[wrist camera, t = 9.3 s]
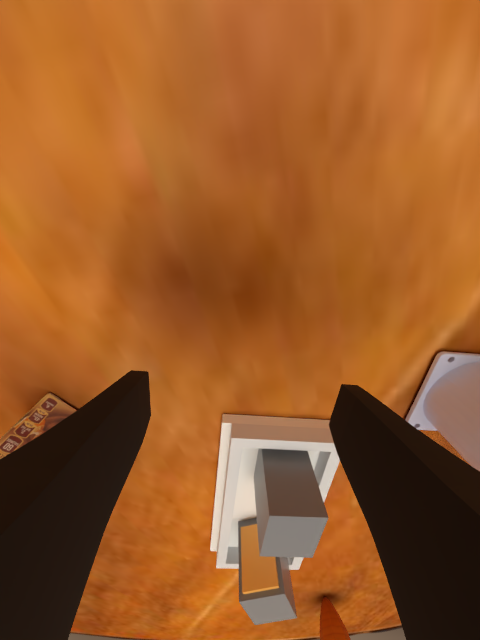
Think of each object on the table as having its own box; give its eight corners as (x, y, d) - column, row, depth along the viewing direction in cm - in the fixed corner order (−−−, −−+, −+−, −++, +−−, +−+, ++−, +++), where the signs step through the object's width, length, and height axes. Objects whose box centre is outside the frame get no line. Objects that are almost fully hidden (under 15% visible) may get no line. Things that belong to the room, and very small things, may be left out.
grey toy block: (304, 441, 22) (328, 517, 16) (293, 481, 24) (311, 560, 19) (260, 439, 22) (269, 515, 16) (253, 479, 24) (258, 559, 18)
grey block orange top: (250, 545, 28) (254, 624, 23) (237, 519, 26) (237, 599, 21) (284, 538, 28) (296, 617, 23) (273, 511, 26) (283, 591, 20)
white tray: (342, 420, 22) (355, 444, 20) (300, 542, 30) (305, 569, 28) (222, 413, 22) (221, 437, 19) (210, 540, 30) (208, 568, 27)
